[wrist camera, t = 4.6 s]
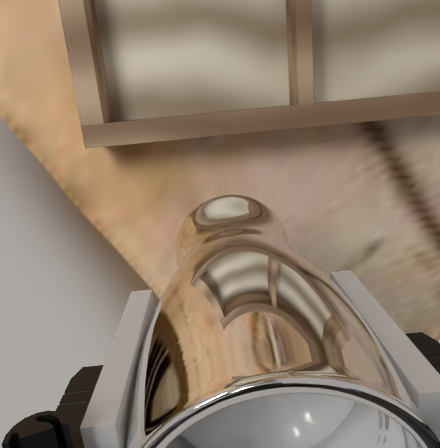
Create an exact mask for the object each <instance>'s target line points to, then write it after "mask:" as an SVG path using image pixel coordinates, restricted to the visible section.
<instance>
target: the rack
mask: <svg viewBox="0 0 440 448" xmlns="http://www.w3.org/2000/svg"><path fill="white" fill-rule="evenodd" d="M58 3H59V8H60V14H61V19H62V25H63V30H64V36H65V41H66V47H67V52H68V57H69V63H70V68H71V74H72V79H73V85H74V90H75V96H76V101H77V107H78V112H79V118H80V123H81V128H82V134H83V139H84V145H85V148H95V147H106V146H116V145H127V144H137V143H148V142H158V141H169V140H180V139H190V138H201V137H211V136H222V135H232V134H243V133H253V132H264V131H274V130H285V129H295V128H306V127H316V126H327V125H337V124H348V123H358V122H369V121H380V120H390V119H401V118H411V117H422V116H432V115H440V0H58Z"/></svg>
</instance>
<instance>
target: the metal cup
mask: <svg viewBox="0 0 440 448" xmlns="http://www.w3.org/2000/svg"><path fill="white" fill-rule="evenodd" d="M176 259H177V263H178V267H179V269H178V270H177V272H176V273H175V275H174V276H173V278H172V280H171V281H170V283H169V285H168V286H167V288H166V289H165V291H164V293H163V295H162V297H161V299H160V301H159V303H158V306H157V308H156V310H155V312H154V314H153V316H152V318H151V321H150V324H149V327H148V330H147V333H146V337H145V340H144V344H143V347H142V350H141V354H140V358H139V363H138V368H137V373H136V378H135V384H134V389H133V395H132V402H131V410H130V417H129V425H128V433H127V443H126V448H440V442H439V440H438V438H437V437H436V435H435V434H434V433H433V431H432V430H431V429H430V427H429V426H428V425H427V424H426V422H425V420H424V419H423V417H422V415H421V413H420V412H419V410H418V408H417V407H416V405H415V403H414V401H413V399H412V398H411V396H410V394H409V392H408V390H407V389H406V387H405V385H404V383H403V381H402V379H401V378H400V376H399V374H398V373H397V371H396V369H395V367H394V366H393V364H392V362H391V361H390V359H389V357H388V356H387V354H386V352H385V350H384V349H383V347H382V345H381V344H380V342H379V341H378V339H377V338H376V336H375V335H374V333H373V332H372V330H371V329H370V327H369V326H368V324H367V323H366V321H365V320H364V318H363V317H362V315H361V314H360V313H359V311H358V310H357V309H356V308H355V306H354V305H353V304H352V303H351V302H350V300H349V299H348V298H347V297H346V295H345V294H344V293H343V292H342V291H341V289H340V288H339V287H338V286H337V285H336V284H335V283H334V282H333V281H332V280H331V279H330V278H329V277H328V276H327V275H325V274H324V273H323V272H322V271H321V270H320V269H319V268H317V267H316V266H315V265H314V264H313V263H312V262H310V261H309V260H308V259H306V258H305V257H303V256H302V255H301V254H299V253H298V252H296V251H295V250H294V249H292V248H291V247H289V246H288V240H287V235H286V231H285V228H284V226H283V224H282V222H281V220H280V219H279V217H278V216H277V215H276V214H275V212H274V211H273V210H272V209H270V208H269V207H268V206H267V205H265V204H264V203H262V202H260V201H258V200H256V199H254V198H251V197H247V196H242V195H224V196H219V197H215V198H212V199H210V200H208V201H206V202H204V203H202V204H201V205H199V206H198V207H196V208H195V209H194V210H193V211H192V212H191V213H190V214H189V215H188V216H187V217H186V219H185V220H184V222H183V223H182V225H181V227H180V230H179V232H178V235H177V240H176Z"/></svg>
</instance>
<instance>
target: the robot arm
mask: <svg viewBox="0 0 440 448" xmlns="http://www.w3.org/2000/svg"><path fill="white" fill-rule="evenodd" d="M330 279H331V280H332V281H333V282H334V283H335V284H336V285H337V286H338V287H339V288H340V289H341V291H342V292H343V293H344V294H345V295H346V297H347V298H348V299H349V300H350V302H351V303H352V304H353V305H354V306H355V308H356V309H357V310H358V311H359V313H360V314H361V315H362V317H363V318H364V320H365V321H366V323H367V324H368V326H369V327H370V329H371V330H372V332H373V333H374V335H375V336H376V338H377V339H378V341H379V342H380V344H381V345H382V347H383V349H384V350H385V352H386V354H387V356H388V357H389V359H390V361H391V362H392V364H393V366H394V367H395V369H396V371H397V373H398V374H399V376H400V378H401V379H402V381H403V383H404V385H405V387H406V389H407V390H408V392H409V394H410V396H411V398H412V399H413V401H414V403H415V405H416V407H417V408H418V410H419V412H420V413H421V415H422V417H423V419H424V420H425V422H426V424H427V425H428V426H429V427H430V429H431V430H432V431H433V433H434V434H435V435H436V437H437V438H438V440H439V442H440V343H439V342H438V341H436V340H434V339H433V338H431V337H429V336H427V335H425V334H424V333H422V332H419V333H409V334H405V333H404V332H403V331H402V330H401V329H400V327H399V326H398V325H397V324H396V323H395V322H394V320H393V319H392V318H391V317H390V316H389V315H388V313H387V312H386V311H385V310H384V309H383V308H382V306H381V305H380V304H379V303H378V302H377V301H376V299H375V298H374V297H373V296H372V295H371V294H370V292H369V291H368V290H367V289H366V288H365V287H364V285H363V284H362V283H361V282H360V281H359V279H358V278H357V277H356V276H355V275H354V274H353V272H352V271H351V270H346V271H336V272H330ZM154 312H155V308H154V302H153V295H152V290H142V291H132V292H131V294H130V297H129V299H128V302H127V305H126V307H125V310H124V313H123V315H122V318H121V321H120V323H119V326H118V329H117V331H116V334H115V337H114V339H113V342H112V345H111V348H110V350H109V353H108V355H107V358H106V360H105V363H104V365H100V366H91V367H83V368H82V369H81V370H80V371H79V372H78V373H77V374H76V375H75V376H74V377H72V379H71V380H70V382H69V384H68V386H67V388H66V390H65V395H63V397H62V399H61V401H60V405H59V406H58V407H57V409H56V411H45V412H40V413H36V414H34V415H31V416H29V417H27V418H24V419H23V420H22V421H20V422H19V423H17V424H16V425H15V426H13V427H12V429H11V430H10V431H9V432H8V433H7V434H6V436H5V438H4V440H3V443H2V447H3V448H126V443H127V433H128V425H129V417H130V410H131V402H132V395H133V389H134V384H135V378H136V373H137V368H138V363H139V358H140V354H141V350H142V347H143V344H144V340H145V337H146V333H147V330H148V327H149V324H150V321H151V318H152V316H153V314H154Z"/></svg>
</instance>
